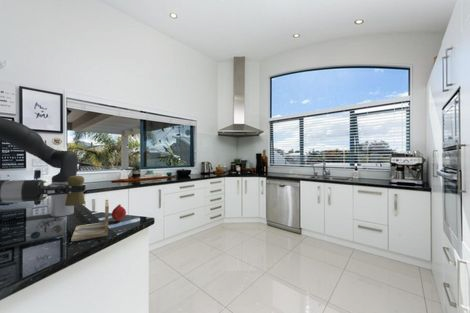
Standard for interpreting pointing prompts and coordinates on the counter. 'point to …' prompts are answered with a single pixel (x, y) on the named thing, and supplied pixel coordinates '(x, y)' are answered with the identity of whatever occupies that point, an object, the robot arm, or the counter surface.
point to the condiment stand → (92, 228)
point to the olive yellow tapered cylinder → (75, 197)
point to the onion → (118, 213)
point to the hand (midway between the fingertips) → (84, 188)
